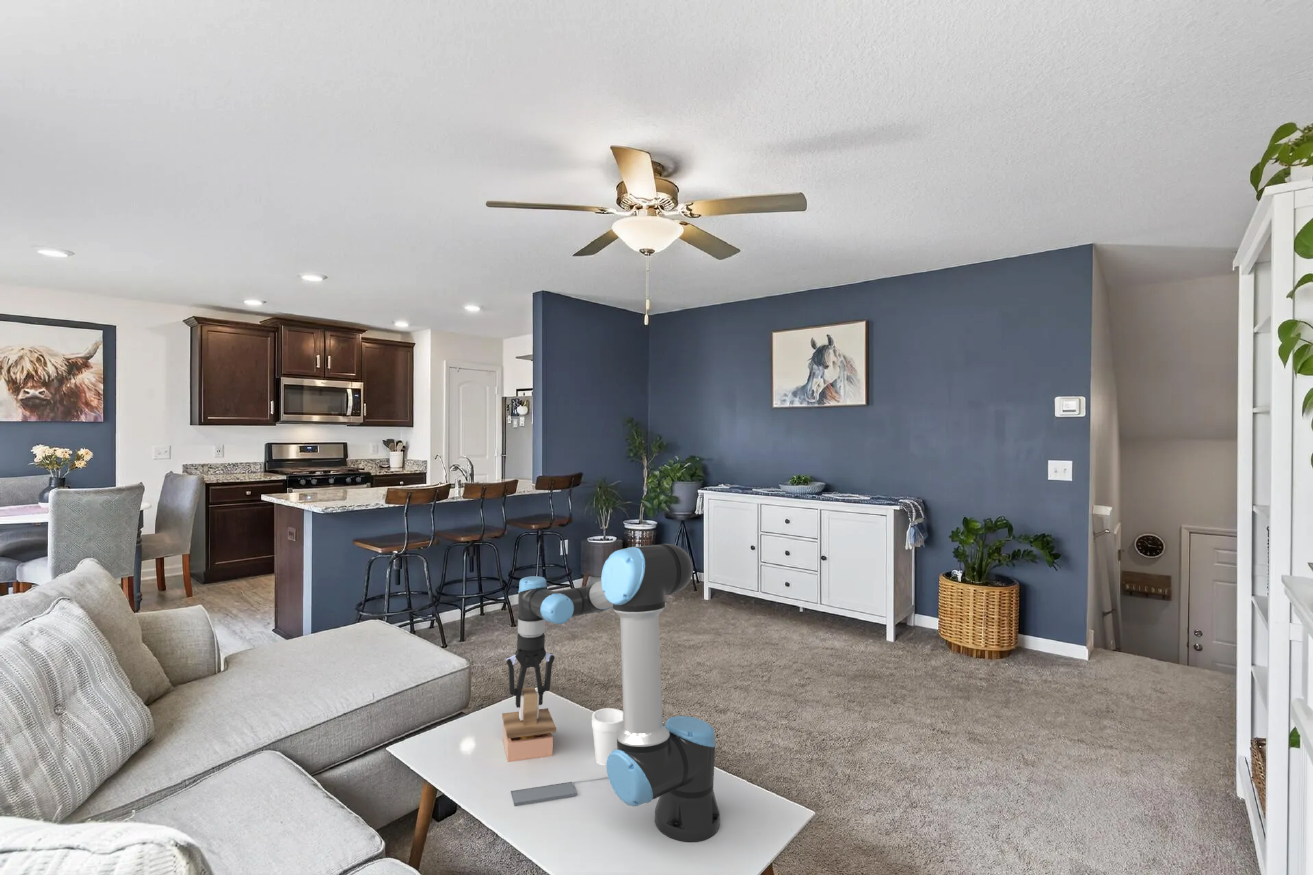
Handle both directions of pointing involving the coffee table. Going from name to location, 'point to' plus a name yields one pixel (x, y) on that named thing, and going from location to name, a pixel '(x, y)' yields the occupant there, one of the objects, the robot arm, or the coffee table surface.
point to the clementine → (527, 737)
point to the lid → (528, 718)
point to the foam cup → (606, 732)
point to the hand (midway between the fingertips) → (528, 717)
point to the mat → (543, 793)
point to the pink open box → (527, 747)
